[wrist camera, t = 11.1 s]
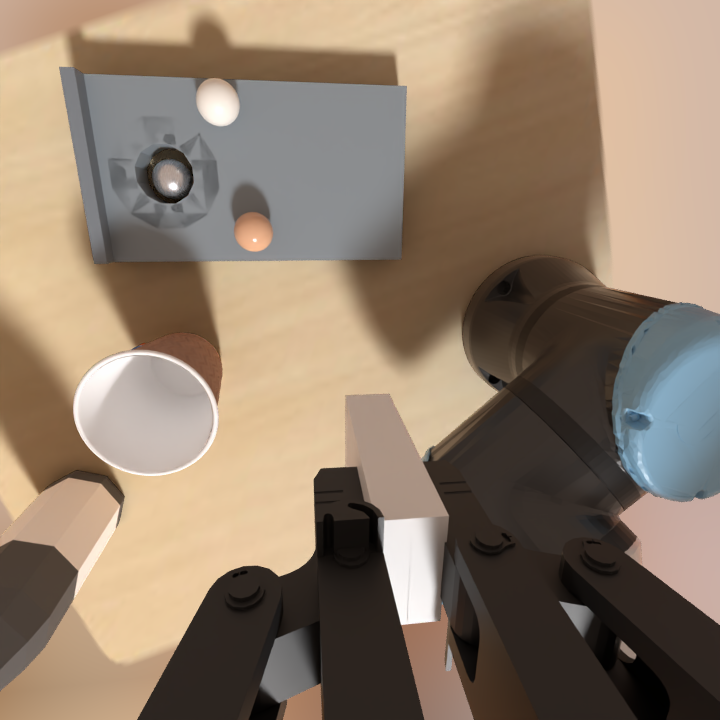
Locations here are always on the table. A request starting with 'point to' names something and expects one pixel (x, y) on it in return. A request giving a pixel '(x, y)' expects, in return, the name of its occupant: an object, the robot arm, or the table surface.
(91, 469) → the table surface
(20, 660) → the wine bottle
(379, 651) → the robot arm
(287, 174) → the tray
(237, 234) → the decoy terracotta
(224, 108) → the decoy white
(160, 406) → the coffee cup
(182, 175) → the steel ball
